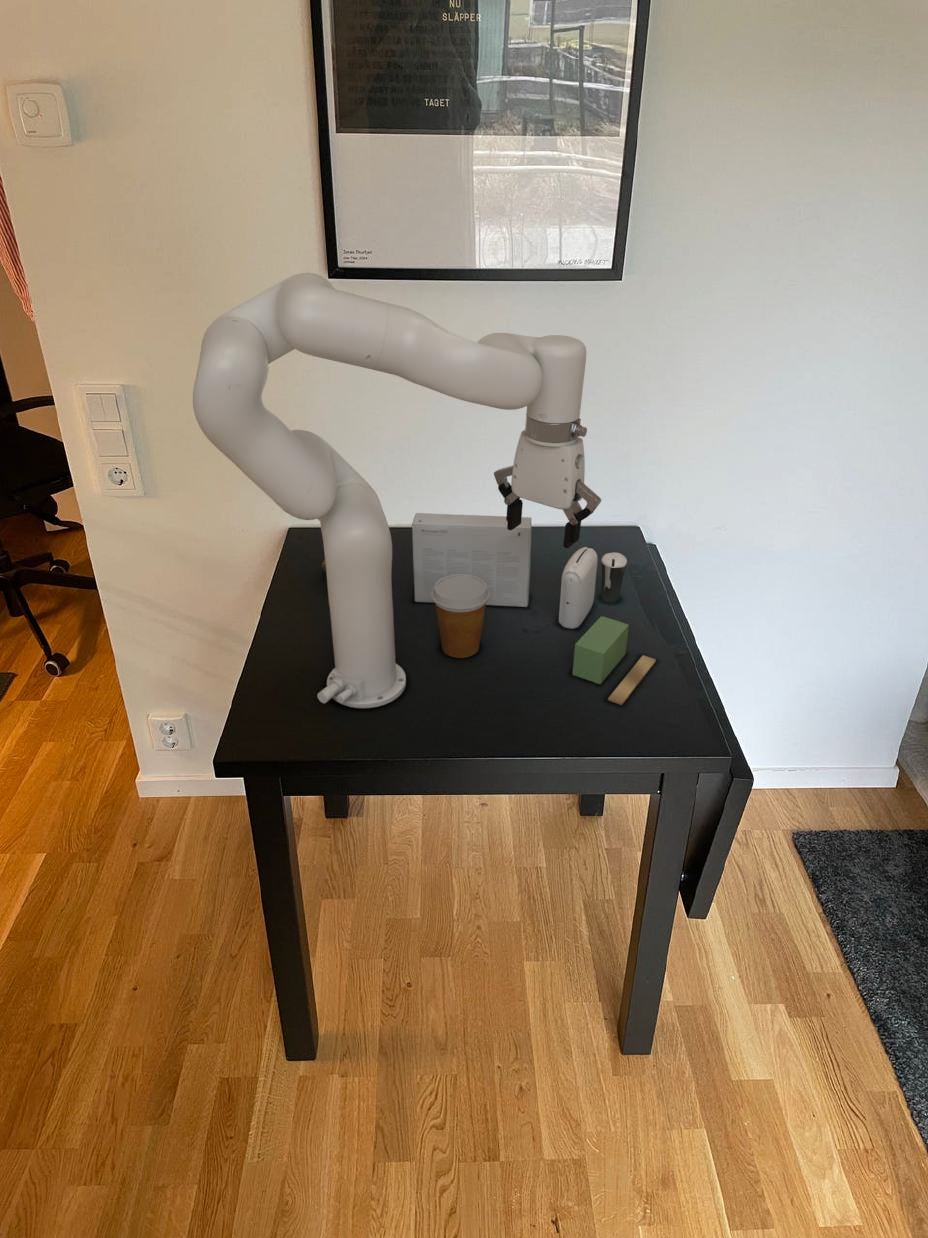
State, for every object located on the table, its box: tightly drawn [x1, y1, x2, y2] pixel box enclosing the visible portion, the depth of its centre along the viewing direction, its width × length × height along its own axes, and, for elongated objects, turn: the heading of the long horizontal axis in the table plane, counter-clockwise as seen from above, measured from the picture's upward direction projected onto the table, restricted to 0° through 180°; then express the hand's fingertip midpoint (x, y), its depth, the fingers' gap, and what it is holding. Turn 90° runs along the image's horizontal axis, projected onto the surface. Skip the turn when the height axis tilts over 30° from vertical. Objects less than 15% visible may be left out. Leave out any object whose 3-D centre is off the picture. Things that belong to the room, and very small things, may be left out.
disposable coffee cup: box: [431, 574, 489, 659], centre depth 150 cm, size 10×10×12 cm
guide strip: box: [607, 655, 657, 706], centre depth 146 cm, size 14×2×1 cm, turn 148°
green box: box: [571, 615, 630, 685], centre depth 148 cm, size 5×10×6 cm, turn 148°
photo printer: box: [558, 546, 598, 630], centre depth 159 cm, size 10×4×12 cm, turn 156°
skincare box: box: [411, 512, 533, 608], centre depth 163 cm, size 21×5×16 cm, turn 84°
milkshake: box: [600, 551, 628, 604], centre depth 164 cm, size 5×5×10 cm
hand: (541, 535), depth 137 cm, fingers open, 9 cm apart
